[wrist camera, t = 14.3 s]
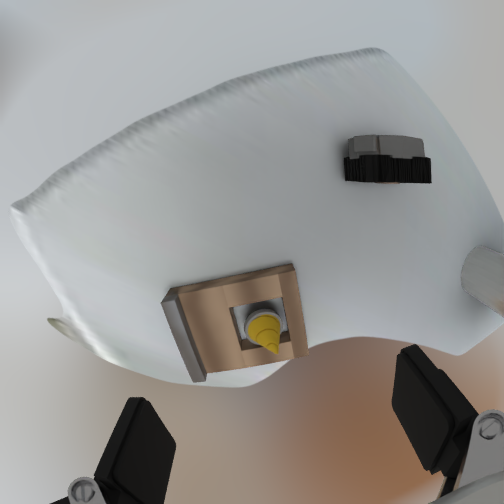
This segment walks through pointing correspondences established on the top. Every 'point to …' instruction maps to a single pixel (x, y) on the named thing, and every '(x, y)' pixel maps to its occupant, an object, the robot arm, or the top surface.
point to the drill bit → (264, 329)
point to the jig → (232, 321)
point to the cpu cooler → (387, 160)
